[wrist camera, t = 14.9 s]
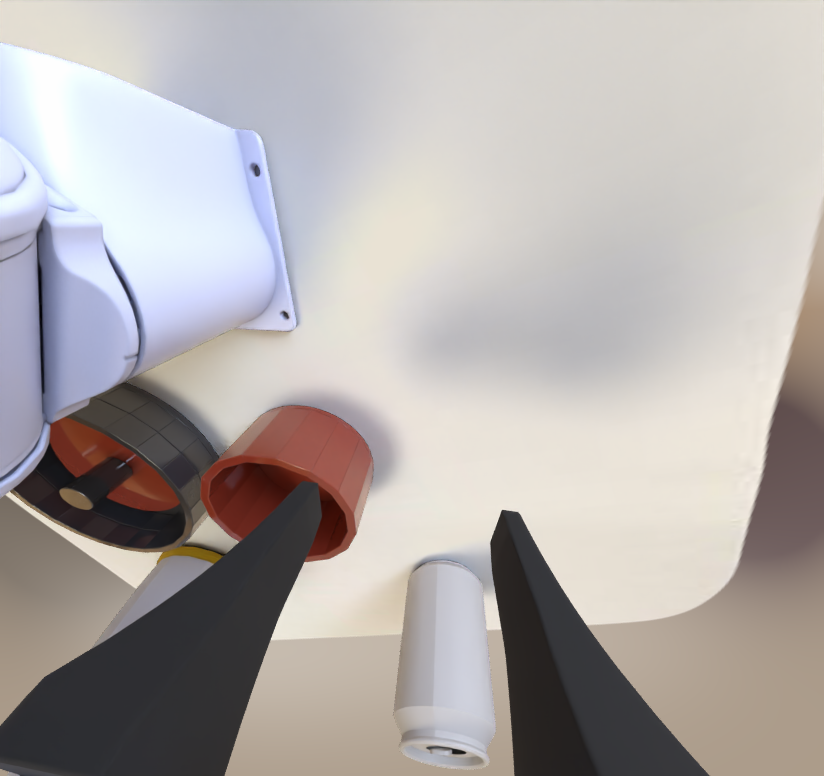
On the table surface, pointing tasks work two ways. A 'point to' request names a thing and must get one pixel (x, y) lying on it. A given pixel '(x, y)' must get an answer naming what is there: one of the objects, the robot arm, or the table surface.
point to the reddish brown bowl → (292, 475)
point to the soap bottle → (160, 586)
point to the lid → (106, 470)
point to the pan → (157, 446)
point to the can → (445, 669)
